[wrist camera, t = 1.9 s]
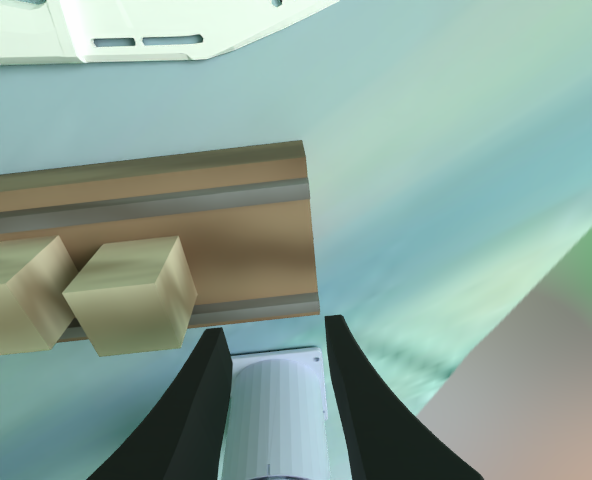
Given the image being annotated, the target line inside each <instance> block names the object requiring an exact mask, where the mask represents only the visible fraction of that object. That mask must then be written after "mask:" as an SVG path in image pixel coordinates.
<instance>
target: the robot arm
mask: <svg viewBox="0 0 592 480" xmlns="http://www.w3.org/2000/svg"><path fill="white" fill-rule="evenodd" d="M325 328H326V341H327V353H328V361H329V368H330V375H331V381H332V385H333V389H334V393H335V398H336V402H337V406H338V410H339V414H340V418H341V422H342V427H343V431H344V435H345V439H346V444H347V449H348V455H349V462H350V468H351V475H352V480H484V479H483V477H482V476H481V475H480V474H479V473H478V472H477V471H476V470H474V469H473V468H472V467H471V466H469V465H468V464H467V463H466V462H464V461H463V460H462V459H461V458H460V457H458V456H457V455H456V454H455V453H454V452H453V451H451V450H450V449H449V448H448V447H447V446H446V445H445V444H444V443H442V442H441V441H440V440H439V439H438V438H437V437H436V436H435V435H434V434H432V432H431V431H429V430H428V428H426V427H425V426H424V425H423V424H422V423H421V422H420V421H419V420H418V419H417V418H416V417H415V416H414V415H413V414H412V413H411V412H410V411H409V410H408V408H407V407H406V406H405V405H404V404H403V403H402V402H401V401H400V400H399V399H398V397H397V396H396V395H395V394H394V393H393V392H392V391H391V389H390V388H389V387H388V386H387V384H386V383H385V382H384V381H383V379H382V378H381V377H380V376H379V374H378V373H377V372H376V370H375V369H374V368H373V366H372V365H371V363H370V362H369V361H368V359H367V358H366V356H365V355H364V353H363V352H362V350H361V349H360V347H359V345H358V344H357V342H356V340H355V339H354V337H353V335H352V333H351V332H350V330H349V328H348V326H347V324H346V322H345V319H344V317H343V316H342V315H333V316H325ZM315 357H317V358H315ZM230 396H231V399H232V400H231V408H230V416H229V423H228V431H227V439H226V447H225V455H224V462H223V470H222V478H221V480H331V472H330V464H329V456H328V447H327V439H326V431H325V422H324V421H326V420H327V419H328V414H327V403H326V392H325V381H324V370H323V360H322V351H321V349H320V348H318V347H312V348H303V349H293V350H284V351H274V352H265V353H255V354H246V355H237V356H231V355H230V352H229V349H228V345H227V342H226V338H225V335H224V332H223V328H222V327H221V328H211V329H206V330H205V331H204V333H203V335H202V336H201V338H200V340H199V341H198V343H197V345H196V346H195V348H194V350H193V351H192V353H191V355H190V356H189V358H188V359H187V361H186V363H185V364H184V366H183V367H182V369H181V370H180V372H179V373H178V375H177V376H176V378H175V379H174V381H173V382H172V383H171V385H170V386H169V388H168V389H167V390H166V392H165V393H164V394H163V396H162V397H161V399H160V400H159V401H158V403H157V404H156V405H155V406H154V408H153V409H152V410H151V411H150V413H149V414H148V415H147V416H146V418H145V419H144V420H143V421H142V422H141V424H140V425H139V426H138V427H137V428H136V429H135V430H134V432H133V433H132V434H131V435H130V436H129V437H128V438H127V439H126V440H125V441H124V443H123V444H122V445H121V446H120V447H119V448H118V449H117V450H116V451H115V452H114V453H113V454H112V455H111V456H110V457H109V458H108V459H107V460H106V461H105V462H104V463H103V464H102V465H101V466H100V467H99V468H98V469H97V470H96V471H95V472H94V473H93V474H92V475H91V476H90V477H89V478H87V479H86V480H217V477H218V466H219V458H220V451H221V445H222V440H223V434H224V428H225V423H226V417H227V412H228V406H229V400H230Z"/></svg>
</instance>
